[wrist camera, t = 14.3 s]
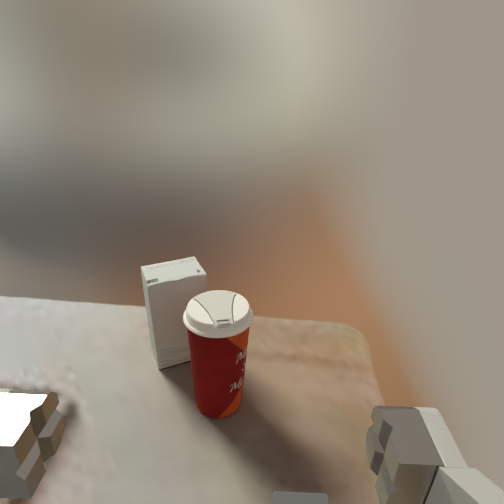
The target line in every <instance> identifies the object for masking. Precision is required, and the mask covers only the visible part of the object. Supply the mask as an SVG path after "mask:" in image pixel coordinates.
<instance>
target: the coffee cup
mask: <svg viewBox="0 0 504 504" xmlns="http://www.w3.org/2000/svg"><path fill="white" fill-rule="evenodd" d="M183 321H184V324H185V326H186V327H187V333H188V341H189V350H190V358H191V367H192V375H193V384H194V392H195V399H196V404H197V407H198V409H199V410H200V412H201V413H203V414H204V415H206V416H208V417H211V418H224V417H227V416H230V415H231V414H233V413H234V412H235V411H236V410H237V409H238V408H239V406H240V402H241V397H242V389H243V381H244V372H245V363H246V354H247V345H248V335H249V326H250V325H251V323H252V321H253V313H252V310H251V309H250V306H249V303H248V302H247V300H246V299H245V298H244V297H243V296H241V295H239V294H236V293H234V292H230V291H224V290H215V291H208V292H204V293H201V294H199V295H197V296H195V297H194V298H192V299H191V300H190V301H189V303H188V305H187V309H186V310H185V312H184V315H183Z"/></svg>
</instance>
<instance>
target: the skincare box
mask: <svg viewBox="0 0 504 504" xmlns="http://www.w3.org/2000/svg"><path fill="white" fill-rule="evenodd" d="M141 274H142V281H143V290H144V296H145V303H146V310H147V317H148V325H149V332H150V339H151V346H152V349H153V352H154V356H155V359H156V362H157V366H158V369H163V368H166V367H169V366H173V365H176V364H180V363H184V362H187V361H191V358H190V350H189V341H188V333H187V327H186V326H185V324H184V321H183V315H184V312H185V310H186V309H187V305H188V303H189V301H190V300H191V299H192V298H194V297H195V296H197V295H199V294H201V293H204V292H207V274H206V273H205V271H204V270H203V268H202V267H201V266H200V264H199V263H198V261H197V260H196V258H195V257H189V258H184V259H179V260H174V261H169V262H164V263H158V264H153V265H148V266H142V267H141Z"/></svg>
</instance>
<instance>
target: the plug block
mask: <svg viewBox="0 0 504 504" xmlns="http://www.w3.org/2000/svg"><path fill="white" fill-rule="evenodd" d="M272 504H329V501H328V495H327V493H308V492H288V491H273V495H272Z"/></svg>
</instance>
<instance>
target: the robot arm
mask: <svg viewBox="0 0 504 504" xmlns="http://www.w3.org/2000/svg"><path fill="white" fill-rule="evenodd" d="M58 404H59V400H58V397H57V393H54V392H47V391H33V390H19V389H0V498H30V499H31V498H32V496H33V494H34V492H35V490H36V488H37V487H38V485H39V483H40V481H41V479H42V477H43V476H44V474H45V472H46V470H45V465H44V462H45V461H47V460H48V459H49V458H51V457H52V456H53V455H55V453H56V451H57V449H58V447H59V445H60V443H61V440H62V436H63V432H64V420H63V415H62V414H61V413H60V412H58V411H57V410H56V407H57V405H58ZM371 418H372V421H373V425H372V426H371V427H370V428H368V432H367V437H366V451H367V457H368V462H369V466H370V469H371V470H372V471H373V472H374V473H375V474H376V475H377V476H378V477H377V481H376V485H375V487H376V491H377V495H378V498H379V502H380V504H504V491H503V490H501V489H500V488H499V487H498V486H496V485H495V484H494V483H493V482H492V481H490V480H489V479H488V478H487V477H486V476H484V475H483V474H482V473H481V472H479V471H478V470H477V469H476V468H469V466H468V465H467V463H466V461H465V459H464V457H463V455H462V453H461V451H460V450H459V448H458V446H457V444H456V442H455V440H454V439H453V436H452V435H451V433H450V431H449V429H448V427H447V425H446V424H445V422H444V420H443V418H442V416H441V414H440V412H439V411H438V410H437V409H436V408H423V407H415V408H414V407H398V406H375V407H374V408H373V411H372V415H371Z"/></svg>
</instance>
